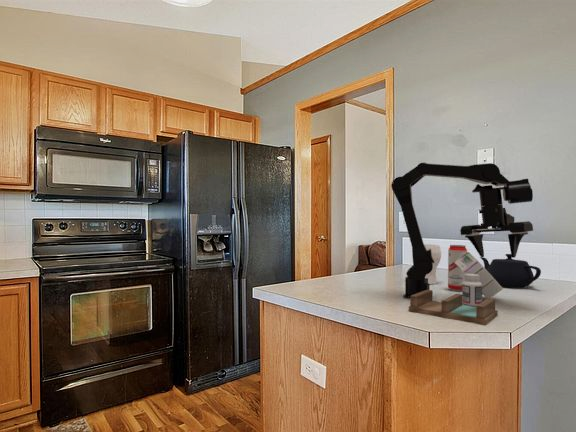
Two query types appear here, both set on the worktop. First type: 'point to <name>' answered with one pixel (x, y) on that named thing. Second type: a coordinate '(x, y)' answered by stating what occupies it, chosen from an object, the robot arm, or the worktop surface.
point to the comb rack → (453, 308)
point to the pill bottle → (471, 290)
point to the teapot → (511, 272)
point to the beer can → (455, 267)
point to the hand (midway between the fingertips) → (497, 257)
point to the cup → (436, 256)
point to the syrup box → (473, 266)
